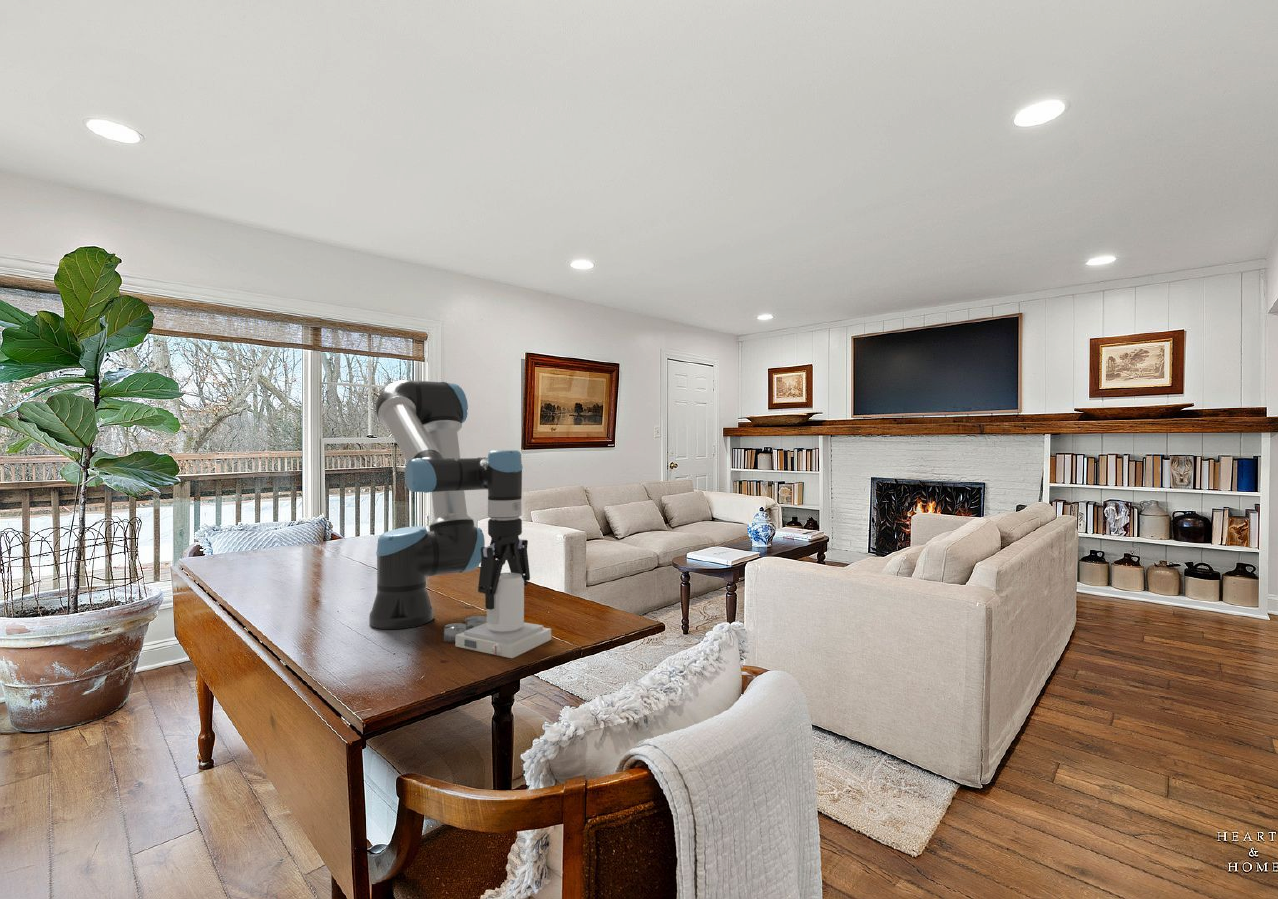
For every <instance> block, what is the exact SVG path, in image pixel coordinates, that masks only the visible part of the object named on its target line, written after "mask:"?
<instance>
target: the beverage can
mask: <svg viewBox="0 0 1278 899" xmlns="http://www.w3.org/2000/svg"><path fill="white" fill-rule="evenodd" d="M490 589H491V588H490ZM495 594H498V624H492V623H487V627H488V629H490V630H492V631H494V632H499V633H507V632H513V631H516V630H518V629H520V628H522V627H523V626H524V622H525V585H524V580H523V578H522V575H521V574H519V573H511V572H501V574H500V578H499V582H498V585H497V589H496V593H495Z"/></svg>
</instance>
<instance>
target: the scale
mask: <svg viewBox="0 0 1278 899" xmlns="http://www.w3.org/2000/svg"><path fill="white" fill-rule="evenodd" d="M551 640H552V628H550V627H544V625H542V624H537V623H532V622H525V621H524V626H523V627H522V628H520V629H518V630H516V631H513V632H507V633H499V632H494V631H492V630H490V629H488V627H487V623H485V624H482V625H479V626H477V627H474V628H471V629H469V630H466V631H464V632H462V633H460V634H457V635H455V642H454V643H455V647H457V648H462V649H466V650H470V651H475V652H481V653H485V654H489V655H493V656H494V655H495V656H500V657H505V658H509V659H514V658H516V657H518V656H520V655H522V654H525V653H526V652H528V651H531V650H532V649H534V648H537V647H539V646H541V645H544V644H545V643H547V642H549V641H551Z"/></svg>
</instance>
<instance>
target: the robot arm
mask: <svg viewBox="0 0 1278 899" xmlns="http://www.w3.org/2000/svg"><path fill="white" fill-rule="evenodd" d="M468 410H469V405H468V400H467V396H466V393H465V391H464V389H463V388H462V387H460V385H458V384H456V383H451V382H447V381H427V380H426V381H425V380H414V379H413V380H411V379H401V380H400V379H399V380H397V381H394V382H392V383H390V384H388V385H387V386H385V387H384V388H383V389H382V390H381V391H380V393H379V395H378V396H377V399H376V401H375V414H376V416H377V418H378V421H379V422H380V424H382V425H383V426H384V427H385V428H386V429H389V431H390V434H391V435H392V437H393V439H394V441H395V442H396V444H397V447H398V448H399V450H400V451H401V454H402V455H403V457H404V459H405V461H406V463H405V467H404V481H405V485H406V488H407V490H408V491H410V492H412V493H431V500H432V507H433V509H432V510H433V518H434V519H433V520H432V521H431V523H430V524H429V526H428V528H429V531H427V528H426V527H425V526H421V525H416V526H407V527H405V526H404V527H401V528H399V527H398V528H395V529H392V530H388V531H385V532H383V533H382V534H381V535H380V536H379V537H378V539H377V544H376V545H377V546H376V547H377V548H376V553H375V554H376V594H375V595H376V596H375V598H374V601H373V604H372V608H371V611H370V613H369V618H368V619H369V620H368V621H369V626H371V627H373V628H375V629H381V630H400V629H409V628H415V627H419V626H422V625H425V624H427V623H429V622H431V621H432V620H433V619H434V608H433V606H432V604H431V599H430V596H429V593H428V590H427V577H434V576H442V575H449V574H450V575H451V574H457V573H458V574H462V573H464V572H469V571H474V570H476V569H477V568H478V567H479V566H480V569H479V576H478V577H479V579H478V587H477V592H478V593H479V594H484V597H485V600H484V602H485V604H484V606H485V609H486V617H487V623H492V624H498V594H495V593H496V589H497V585H498V582H499V578H500V574H501V573H502V569H503V566H504V565H505V564H506V562H507V564H508V568H509V571H510V573H519V574H521V575H522V578H523V580H524V586H528V584H529V582H528V581H530V580H531V574H530V565H529V556H528V544H529V541H528V540H527V539H524V538H523V539H522V538H520V536H521V535H522V533H523V521H522V519H521V518H520V517H521V516H522V515H523V514H522V509H523V508H522V496H523V495H522V494H523V493H522V491H523V483H522V482H523V464H522V454H521V452H520V451H519V450H517V449H516V450H515V449H514V450H513V449H511V450H509V449H503V450H502V449H499V450H498V449H497V450H496V449H494V450H490V451H489V452H488V454H487V457H475V458H474V457H468V458H465V457H463V458H461V453H460V442H459V436H458V435H459V434H458V432H459V431H461V429H462V427H463V424H464V423H465V422H466V420H467V418H468V414H469V413H468ZM478 490H479V491H481V490H487V516H488V517H489V519H488V521H487V534H488V536H490V538H491V540H490V543H489V545H488V546H486V547H485V544H486V543H485V534H484V532H483V530H482V528H481V527H478V526H475V520H474V519H473V517H471V516H469V515H468V511H467V510H468V509H467V503H466V502H467V501H466V494H465V491H478ZM490 588H491V589H490Z"/></svg>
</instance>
